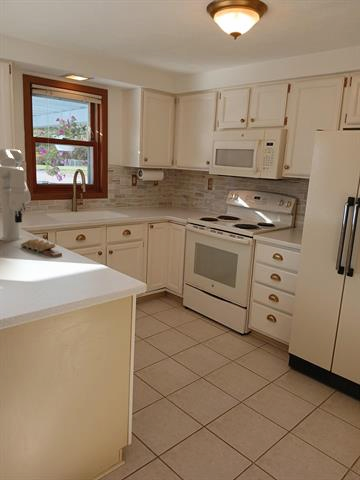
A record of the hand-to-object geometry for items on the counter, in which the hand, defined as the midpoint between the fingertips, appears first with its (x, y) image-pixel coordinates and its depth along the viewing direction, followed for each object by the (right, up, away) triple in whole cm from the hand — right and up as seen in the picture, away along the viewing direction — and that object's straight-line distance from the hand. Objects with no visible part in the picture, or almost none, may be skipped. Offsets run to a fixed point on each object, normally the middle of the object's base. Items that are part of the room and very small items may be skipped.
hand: (18, 222), depth 211 cm
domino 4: (+17, -16, -10) cm, 25 cm away
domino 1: (+4, -13, -1) cm, 14 cm away
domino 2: (+9, -14, -4) cm, 17 cm away
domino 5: (+21, -16, -13) cm, 29 cm away
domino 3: (+13, -15, -7) cm, 21 cm away
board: (+12, -16, -6) cm, 21 cm away
